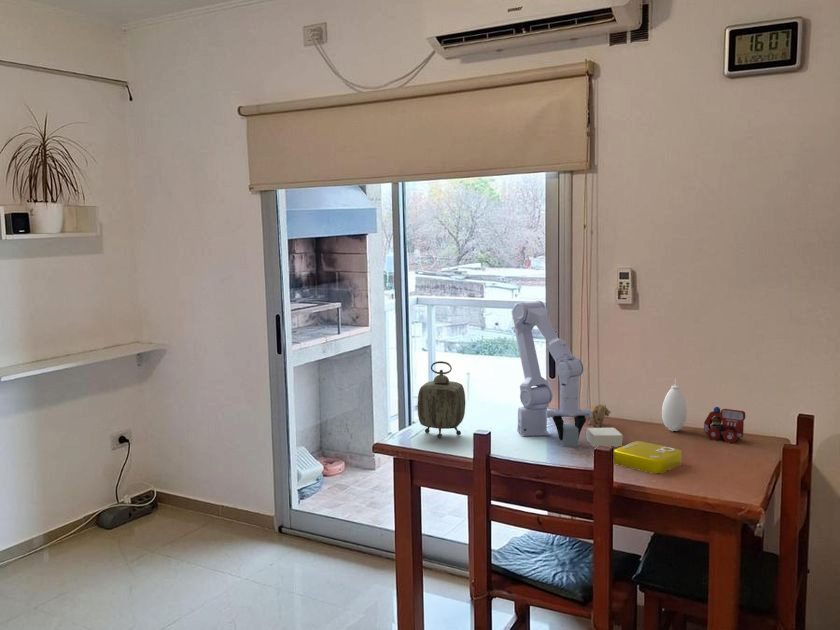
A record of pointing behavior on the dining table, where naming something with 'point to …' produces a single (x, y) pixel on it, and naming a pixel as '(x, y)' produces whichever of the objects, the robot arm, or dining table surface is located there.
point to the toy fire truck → (725, 424)
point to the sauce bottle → (674, 409)
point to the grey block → (569, 435)
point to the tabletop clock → (441, 403)
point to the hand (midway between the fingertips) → (568, 439)
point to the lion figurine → (598, 415)
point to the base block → (604, 437)
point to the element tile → (647, 457)
